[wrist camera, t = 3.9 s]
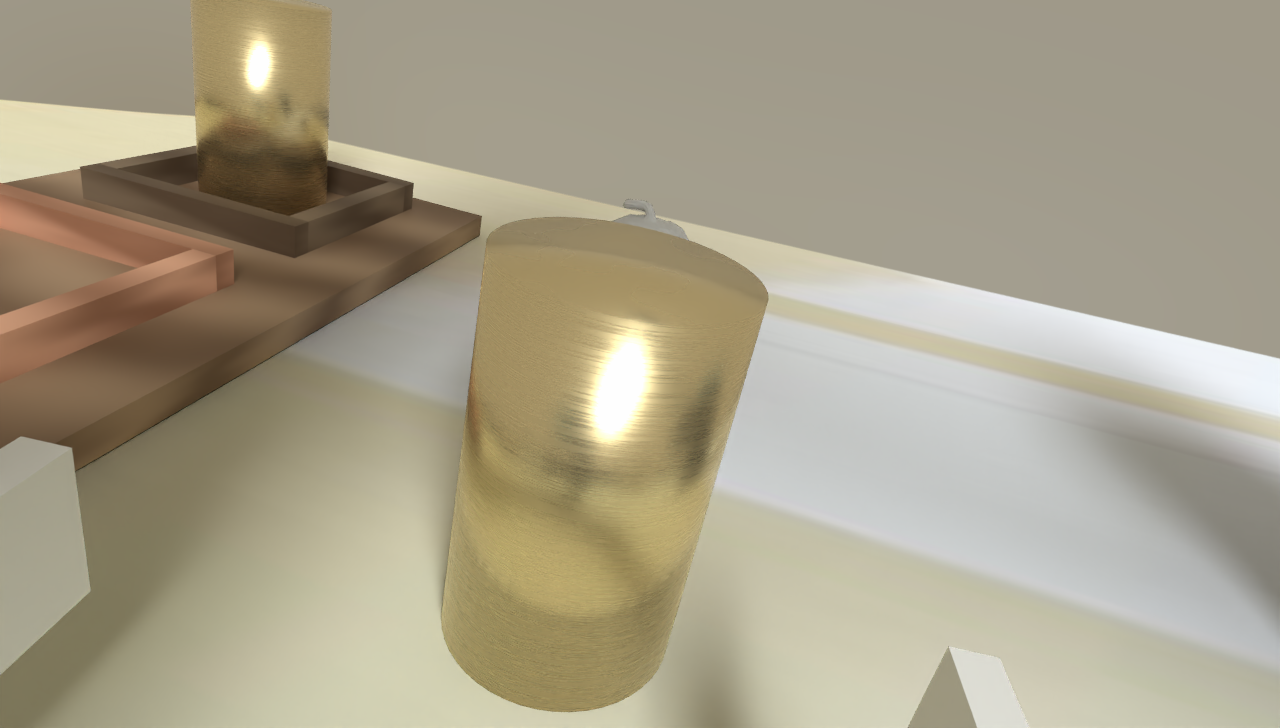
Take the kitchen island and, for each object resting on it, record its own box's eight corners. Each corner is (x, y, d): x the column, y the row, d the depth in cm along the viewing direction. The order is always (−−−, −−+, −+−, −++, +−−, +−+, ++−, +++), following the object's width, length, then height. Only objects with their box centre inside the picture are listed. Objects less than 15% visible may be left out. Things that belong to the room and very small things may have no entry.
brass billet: (627, 536, 24) (702, 230, 20) (701, 693, 19) (821, 331, 15) (430, 548, 22) (467, 206, 18) (456, 729, 17) (516, 316, 13)
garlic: (566, 277, 44) (582, 186, 42) (644, 274, 47) (662, 189, 45) (622, 322, 40) (643, 224, 38) (704, 316, 43) (727, 225, 41)
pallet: (213, 163, 49) (212, 119, 48) (479, 235, 47) (484, 191, 46) (-527, 323, 22) (-571, 233, 21) (12, 508, 20) (-4, 419, 19)
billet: (326, 193, 45) (332, 4, 40) (325, 227, 40) (331, 16, 35) (207, 181, 42) (199, -20, 38) (190, 216, 37) (179, -11, 33)
